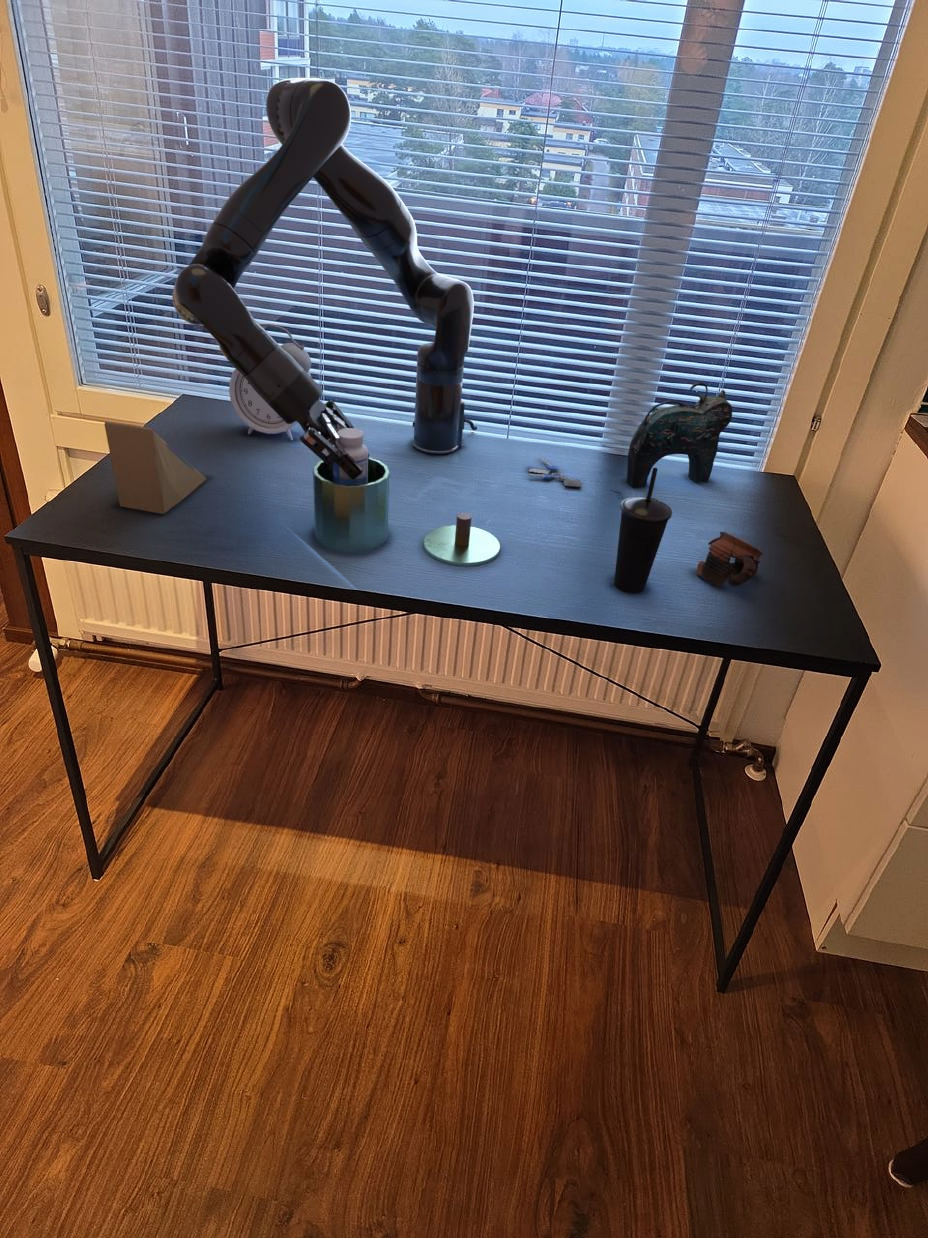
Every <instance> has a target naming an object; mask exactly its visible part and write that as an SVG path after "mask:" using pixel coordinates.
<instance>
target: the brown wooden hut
mask: <svg viewBox="0 0 928 1238" xmlns="http://www.w3.org/2000/svg"><path fill="white" fill-rule="evenodd" d="M719 534H720V535H719V537H716V538H714V539H711V541H709V542H707V545H709V547H708V550H709V551H708V553H707V554H706V555H707V556H706V558H705V561H703V560H700V561H698V564H697V567H696V570H695V574H696V575H697V576H698V577H701V578H703V579H704V580H705V581H706V582H708V583H710V584H712V585H713V586H715V587H718V588H719V589H722V588H723V587H724V585H725V583H726V582H727V580H728V583H729V585H731V587H739V586H741V585H742V584H744V583H746V582H748V581H749V580H750V579H752V577H753V576H756V574H757V573H758V569H759V563H761V560H760V558H761V556H762V555H763V554H764V553H763V552H762V551H761V550H760V549H759V548H757V547H755V546H754V545H752V544H750V543H749V542H747V541H745V540H743V539H741V538H739V537H736V536H735V535H732V534H730V533H728V532H726V531H720V532H719ZM731 558H733V559H734V562H731Z"/></svg>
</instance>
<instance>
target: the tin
mask: <svg viewBox="0 0 928 1238" xmlns="http://www.w3.org/2000/svg"><path fill="white" fill-rule="evenodd" d="M390 475H391V474H390V469H389V467H388V465H386V464H385V463H383V462H382V461H381V460H378V459H375V458H372V457H370V456H369V458H368V484H363V485H345V484H337V483H334V477H333V463H331V464H330V465H327V464H326V463H325V462H324V461H323V460H320V461H318V462H316V463H315V465H314V466H313V468H312V481H313V482H312V483H313V485H312V486H313V509H314V510H313V512H314V514H313V516H314V535H315V539H316V541H317V542H319V544H321V545H322V546H323V547H326V548H328V549H331V550H333V551H339V552H347V553H357V552H360V553H361V552H366V551H370V550H373V549H377V548H379V547H380V546H381V545H383V544H385V543H386V541H387V539H388V537H389V515H390V514H389V510H390V502H389V501H390Z"/></svg>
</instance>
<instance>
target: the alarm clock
mask: <svg viewBox="0 0 928 1238" xmlns="http://www.w3.org/2000/svg"><path fill="white" fill-rule="evenodd" d="M259 324H260V325H261V326H262V327H271V328H276V329H278V330H281V331H283V332H285V333H286V335H288V336H289V338H290V340H291V342H286V343H282V344H281V345H280V346H281V347H282V348H283V349H284V350H285V351H286V352H288V353H289V354H290V355H291V356H292V357H293V358H294V359H295V360H296V361H297V362H298V363H299V365H300V366H301V367H302V368H303V369H304V370H305V371H306V372H307V373H308V374H309V375H310V376H311V378H312V379H313V377H312V375H311V372H310V370H311V367H312V360H311V357H310V355H309V353H308V352H307V350H306V349H305V344H301V345H300V344H299V343H297V341H296V340H295V339H294V338H293V335H292V334H291V333H290V331H289V330H288V329H287V328H284V327H282V326H280V325H276V324H271V323H259ZM228 393H229V400H230V402H231V406H232V407H233V409H234V412H235V413H236V414H237V416H238V417H239V419H240V420H241V421H242V422H243V423H245V424H246V426H248V427H249V428H248V432H247V434H248V435H251V434H252V433H253V431H257V432H260V433H264V434H268V435H277V434H281V433H286V436H288V438H289V440H290V441H293V440H294V438H293V435H292V431H291V428H293V427H294V426H295V425H297V424H299V423H298V422H297V421H295V422H294V423H292V424H287V423H286V422H285V421H284V420H283V419H282V418H281V417H280V416H279V415H278V414H277V413H276V412H275V411H274V410H273V409H272V408H271V407H270V406H269V405H268V404H267V403H266V402H265V401H264V400H263V398H262V397H261V396H260V395H259V394H258V393H257V392H256V391H255V390H254V389H253V387H252V386H251V385H250V383H249V382H248V381H247V380H246V379H245V377H244V376H243V375H242V374H241V373H240V372H239V371H238V370H237V369H236V368H234V370H233V371H232V373H231V377H230V379H229V386H228Z"/></svg>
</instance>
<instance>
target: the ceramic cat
mask: <svg viewBox="0 0 928 1238" xmlns="http://www.w3.org/2000/svg"><path fill="white" fill-rule="evenodd" d="M697 386H704V387H705V394H701V393H699V392H698V393H697V396H698V398H699V399H698V400H697V402H696V404H695V405H692V404H691V405H689V404H686V403H683V402H680V401H677V400H668V401H664V402H659V403H657V404H655V405H653V406H652V407H651V408H650V409H649V411H648V412H647V413H646V415H645V417H644V419H643V420H642V421H641V422H640V424H639V425H638V427H637V429H636V431H635V432H633V433H634V434H633V436H632V437H631V440H630V443H629V448H628V452H627V469H626V472H627V473H626V483H627V484H628V485H630V486H631V487H632V488H642V487H643V488H644V487H646V486H647V483H648V478H649V476H650V474H651V472H652V470H653V468H654V466H655V465H656V464H657V463H658V462H659V461H660V460H661V459H664V458H665V457H667V456H672V455H686V456H687V458H688V478H689V479H690V480H692V481H693V482H694V483H700V482H709V481H710V477H711V475H712V471H713V468H714V467H713V466H714V464H715V463H714V462H715V459H716V456H717V453H718V447H719V441H720V435H721V433H722V432H723V431H724V430H725V429H726V428H727V427H728V426H729V425H730V423H731V421H732V418H733V408H734V407H733V406H732V404H731V403H730V402H729V401H728V399H727V397H726V396H727V395H726V391H725V390H724V389H722V390H721V391H720V393H719V394H718V395H717V394H716V395H708V392H709V388H708V386H707V384H705V383H704V382H701V381H699V382H695V383H693V384H692V385H690V388H689V390H690V391H692V390H693V389H695V388H696V387H697ZM668 404H675V405H671V406H667V407H661V406H664V405H668ZM658 407H661V408H658ZM657 408H658V409H657ZM655 409H656V410H655Z"/></svg>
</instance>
